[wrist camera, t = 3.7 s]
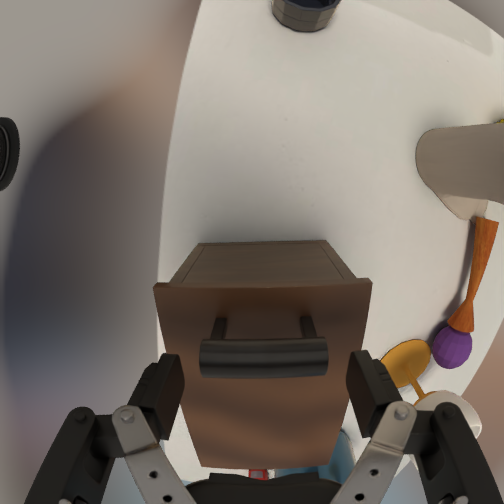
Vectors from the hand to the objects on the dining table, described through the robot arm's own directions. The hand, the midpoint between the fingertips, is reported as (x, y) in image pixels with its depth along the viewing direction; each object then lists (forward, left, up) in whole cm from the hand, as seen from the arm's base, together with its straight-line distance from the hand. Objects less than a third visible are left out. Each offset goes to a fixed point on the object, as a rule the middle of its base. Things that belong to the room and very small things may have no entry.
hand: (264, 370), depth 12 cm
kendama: (+26, -5, -17) cm, 32 cm away
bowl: (+5, +26, -17) cm, 32 cm away
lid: (0, -8, -5) cm, 10 cm away
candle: (+23, +9, -18) cm, 30 cm away
